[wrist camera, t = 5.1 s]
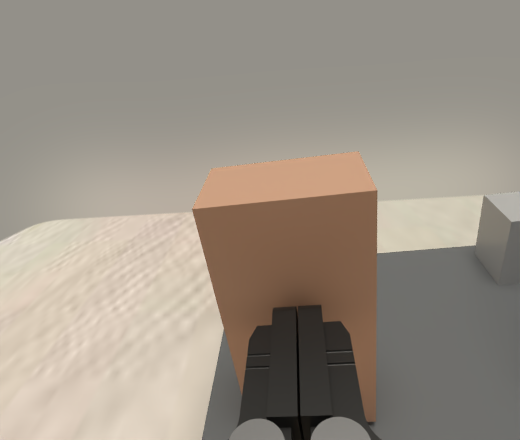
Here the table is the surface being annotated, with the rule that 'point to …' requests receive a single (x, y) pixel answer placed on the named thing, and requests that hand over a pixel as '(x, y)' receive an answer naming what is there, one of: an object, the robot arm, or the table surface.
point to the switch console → (434, 340)
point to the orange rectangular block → (294, 250)
